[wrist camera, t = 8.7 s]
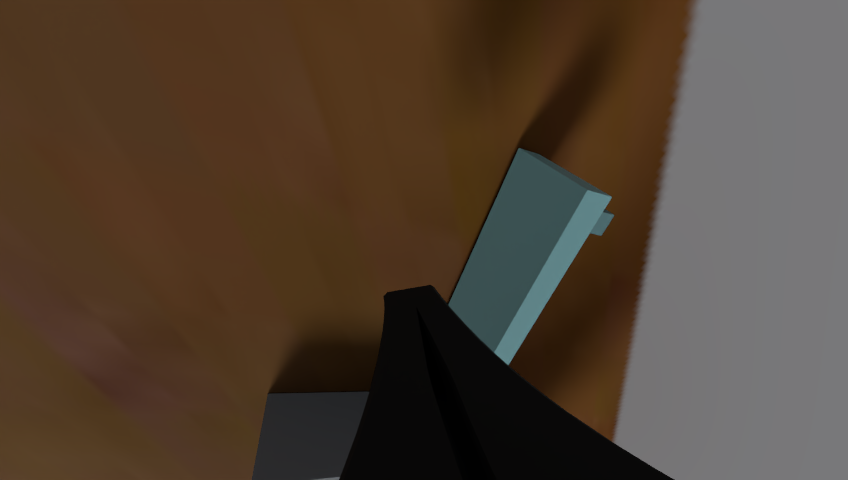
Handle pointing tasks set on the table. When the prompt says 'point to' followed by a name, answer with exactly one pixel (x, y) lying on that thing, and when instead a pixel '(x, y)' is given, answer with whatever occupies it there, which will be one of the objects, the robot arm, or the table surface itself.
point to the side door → (526, 249)
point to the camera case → (307, 435)
